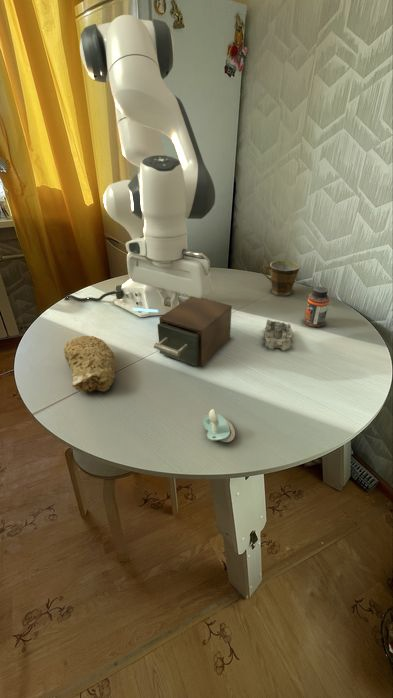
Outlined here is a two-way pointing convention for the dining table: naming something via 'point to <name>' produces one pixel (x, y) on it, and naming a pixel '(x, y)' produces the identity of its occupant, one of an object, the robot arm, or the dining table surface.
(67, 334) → the dining table surface
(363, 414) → the dining table surface
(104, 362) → the sponge
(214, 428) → the pacifier
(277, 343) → the egg carton
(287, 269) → the ceramic cup
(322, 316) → the supplement bottle
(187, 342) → the drawer
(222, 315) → the cabinet
